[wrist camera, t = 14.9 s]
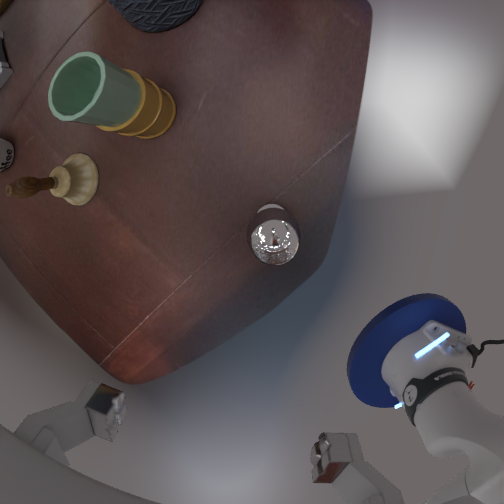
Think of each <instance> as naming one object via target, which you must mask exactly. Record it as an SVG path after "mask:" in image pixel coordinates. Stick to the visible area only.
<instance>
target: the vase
mask: <svg viewBox="0 0 504 504" xmlns="http://www.w3.org/2000/svg"><path fill="white" fill-rule="evenodd" d="M107 1H108V2H109V3H110V4H111V5H112V6H113V7H114V8H115V9H116V10H117V11H118V12H119V13H120V14H121V15H122V16H123V17H124V18H125V19H126V20H127V21H128V22H129V23H130V24H131V25H132V26H134V27H135V28H137V29H139V30H143V31H147V32H159V31H164V30H168V29H171V28H173V27H176V26H178V25H180V24H181V23H183V22H184V21H186V20H187V19H188V18H190V17H191V16H192V15H193V14H194V13H195V11H196V10H197V9H198V7H199V5H200V3H201V0H107Z"/></svg>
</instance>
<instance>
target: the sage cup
mask: <svg viewBox="0 0 504 504" xmlns="http://www.w3.org/2000/svg"><path fill="white" fill-rule="evenodd" d="M141 97H142V90H141V86H140V83H139V81H138V80H137V79H136V78H135V77H134V76H133V75H132V74H130V73H128V72H127V71H125V70H123V69H122V68H120V67H118V66H117V65H115V64H113V63H111V62H110V61H108V60H106V59H104V58H103V57H101V56H99V55H97V54H95V53H92V52H81V53H77V54H76V55H74V56H72V57H70V58H68V59H67V60H66V61H65V62H64V63H63V64H62V65H61V66H60V67H59V68H58V70H57V72H56V73H55V75H54V77H53V79H52V81H51V84H50V88H49V92H48V100H49V107H50V109H51V111H52V113H53V115H54V116H55V117H57V118H59V119H60V120H62V121H69V122H76V123H83V124H89V125H95V126H102V127H117V126H120V125H122V124H124V123H126V122H127V121H128V120H130V119H131V118H132V116H133V115H134V114H135V113H136V111H137V109H138V107H139V105H140V102H141Z"/></svg>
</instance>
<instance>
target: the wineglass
mask: <svg viewBox="0 0 504 504" xmlns="http://www.w3.org/2000/svg"><path fill="white" fill-rule="evenodd" d="M300 240H301V232H300V227H299V224H298V222H297V221H296V219H295V218H294V217H293V215H291V214H290V213H289V212H287V211H286V210H284V209H283V208H282V207H281V206H279V205H277V204H266V205H264V206H262V207H261V208H260V209H259V210H258V211H257V213H256V215H255V216H254V217H253V218H252V219H251V221H250V223H249V225H248V228H247V242H248V245H249V248H250V250H251V251H252V253H253V254H254V255H255V257H256V258H257V259H259V260H260V261H262V262H263V263H265V264H268V265H281V264H284V263H286V262H288V261H289V260H290V259H291V258H293V256H294V255H295V254H296V252H297V250H298V248H299V245H300Z"/></svg>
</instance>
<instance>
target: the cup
mask: <svg viewBox="0 0 504 504" xmlns="http://www.w3.org/2000/svg"><path fill="white" fill-rule="evenodd" d="M13 157H14V149H13V146H12V144H11V143H10V142H8V141H6V140H3V139H1V138H0V172H1V171H3V170H5V169H6V168H8V167H9V166H10V165H11V163H12V161H13Z"/></svg>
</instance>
